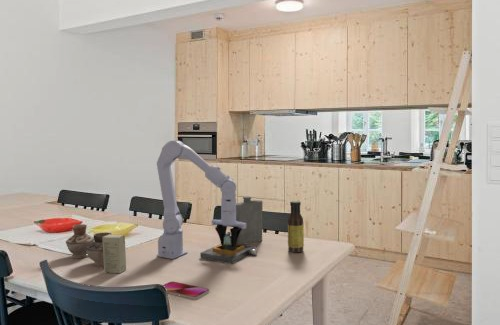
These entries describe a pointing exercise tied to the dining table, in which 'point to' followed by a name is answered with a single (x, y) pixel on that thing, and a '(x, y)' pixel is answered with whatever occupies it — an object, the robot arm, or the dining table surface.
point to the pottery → (86, 244)
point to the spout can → (227, 241)
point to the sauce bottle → (295, 228)
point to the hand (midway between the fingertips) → (228, 245)
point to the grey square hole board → (228, 253)
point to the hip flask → (249, 220)
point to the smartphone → (185, 290)
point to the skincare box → (114, 253)
